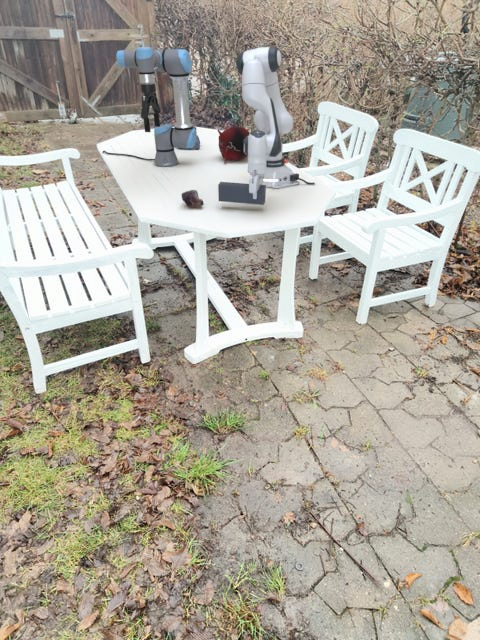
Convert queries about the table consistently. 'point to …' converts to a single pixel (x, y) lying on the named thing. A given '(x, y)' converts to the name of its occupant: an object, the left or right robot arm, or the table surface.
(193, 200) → the rock
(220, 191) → the bar
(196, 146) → the koala plush
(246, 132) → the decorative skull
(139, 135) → the table surface
